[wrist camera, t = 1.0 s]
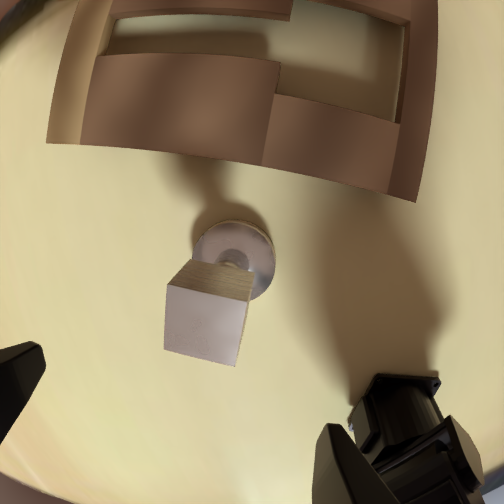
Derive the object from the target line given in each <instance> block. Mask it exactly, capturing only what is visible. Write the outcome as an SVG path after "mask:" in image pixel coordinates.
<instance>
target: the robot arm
mask: <svg viewBox="0 0 504 504" xmlns="http://www.w3.org/2000/svg"><path fill="white" fill-rule="evenodd" d="M45 369H46V362H45V358H44V354H43V350H42V347H41V345H39V344H37V343H35V342H33V341H28V342H25V343H21V344H18V345H14V346H11V347H7V348H4V349H0V445H1V443H2V441H3V440H4V438H5V436H6V435H7V433H8V432H9V430H10V429H11V427H12V425H13V424H14V422H15V421H16V419H17V418H18V416H19V415H20V413H21V412H22V410H23V409H24V407H25V406H26V404H27V402H28V401H29V399H30V397H31V395H32V393H33V391H34V390H35V388H36V386H37V384H38V382H39V380H40V379H41V377H42V375H43V373H44V372H45ZM379 379H381V380H380V381H378V380H379ZM440 385H441V381H440V379H439V378H437V377H419V376H404V375H391V374H377V375H375V376H374V377H373V379H372V381H371V383H370V385H369V387H368V389H367V391H366V393H365V395H364V396H363V397H362V398H361V400H360V401H359V403H358V405H357V407H356V409H355V411H354V413H353V414H352V416H351V421H350V423H349V425H348V427H349V430H350V431H354V436H355V442H356V444H355V443H354V442H353V440H352V439H351V438H350V436H349V435H348V433H347V432H346V431H345V429H344V428H343V427H342V425H340V424H333V423H327V424H326V425H325V426H324V428H323V430H322V432H321V434H320V436H319V438H318V440H317V443H316V450H315V462H314V473H313V483H312V504H485V502H484V500H483V498H482V495H481V493H480V490H479V488H480V487H482V486H483V485H484V476H483V470H482V464H481V458H480V454H479V452H478V450H477V448H476V447H475V445H474V443H473V441H472V439H471V437H470V436H469V434H468V433H467V432H466V431H465V430H464V429H463V428H462V427H461V426H460V424H459V423H458V422H457V421H456V420H455V419H454V418H453V417H452V416H451V415H449V416H447V417H446V418H445V419H444V418H443V416H442V414H441V412H440V410H439V407H438V405H437V403H436V401H435V399H434V395H435V393H436V392H437V390H438V388H439V387H440Z"/></svg>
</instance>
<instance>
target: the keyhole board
mask: <svg viewBox="0 0 504 504" xmlns="http://www.w3.org/2000/svg"><path fill="white" fill-rule="evenodd" d="M307 1H313V2H318V3H323V4H328V5H332V6H336V7H341V8H345V9H349V10H353V11H356V12H360V13H364V14H367V15H370V16H374V17H377V18H380V19H383V20H386V21H389V22H392V23H395V24H398V25H401V26H403V27H405V31H404V45H403V58H402V68H401V77H400V86H399V94H398V102H397V109H396V115H395V122H391V121H388V120H384V119H381V118H378V117H375V116H371V115H368V114H364V113H360V112H357V111H353V110H349V109H345V108H341V107H337V106H333V105H329V104H325V103H320V102H316V101H311V100H306V99H301V98H296V97H291V96H286V95H280V94H276V90H277V85H278V79H279V74H280V68H281V65H280V62H276V61H269V60H262V59H254V58H246V57H237V56H226V55H212V54H193V53H139V54H121V55H108V56H105V55H106V52H107V48H108V44H109V40H110V37H111V33H112V30H113V27H114V23H115V20H116V19H123V18H132V17H142V16H155V15H177V14H211V15H233V16H246V17H257V18H266V19H274V20H281V21H288V22H289V21H290V15H291V10H292V5H293V0H79V3H78V6H77V9H76V11H75V14H74V17H73V20H72V23H71V26H70V30H69V33H68V36H67V39H66V43H65V46H64V50H63V54H62V58H61V62H60V66H59V70H58V74H57V79H56V83H55V88H54V93H53V99H52V104H51V110H50V116H49V123H48V130H47V138H46V143H52V144H77V145H94V146H109V147H121V148H132V149H143V150H152V151H161V152H170V153H178V154H186V155H193V156H201V157H208V158H214V159H221V160H227V161H234V162H240V163H246V164H251V165H257V166H262V167H268V168H273V169H278V170H284V171H289V172H294V173H298V174H303V175H308V176H313V177H317V178H322V179H326V180H330V181H335V182H339V183H343V184H347V185H351V186H356V187H360V188H364V189H367V190H371V191H375V192H379V193H383V194H386V195H390V196H394V197H397V198H401V199H404V200H408V201H411V202H415V203H416V200H417V195H418V191H419V186H420V182H421V177H422V172H423V167H424V162H425V156H426V151H427V145H428V139H429V132H430V125H431V118H432V110H433V102H434V92H435V81H436V68H437V49H438V0H307Z"/></svg>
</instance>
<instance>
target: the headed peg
mask: <svg viewBox="0 0 504 504" xmlns="http://www.w3.org/2000/svg"><path fill="white" fill-rule="evenodd" d="M275 264H276V255H275V250H274V246H273V244H272V242H271V240H270V238H269V237H268V236H267V234H266V233H265V232H264V231H263V230H262V229H260V228H259V227H258V226H256V225H254V224H253V223H250V222H248V221H244V220H238V219H231V220H225V221H222V222H219V223H217V224H215V225H214V226H212V227H211V228H210V229H208V230H207V231H206V232H205V233H204V234H203V235H202V236H201V237H200V239H199V240H198V241H197V243H196V245H195V247H194V250H193V255H192V259H190V260H189V261H188V262H187V263H186V264H185V265H184V266H183V267H182V268H181V270H180V271H179V272H178V273H177V274H176V275H175V276H174V277H173V278H172V279H171V281H170V282H169V283H168V284H167V293H166V309H165V329H164V349H165V350H168V351H172V352H176V353H180V354H183V355H187V356H191V357H195V358H199V359H203V360H207V361H212V362H216V363H220V364H225V365H229V366H234V367H235V364H236V360H237V356H238V352H239V348H240V344H241V340H242V336H243V332H244V328H245V322H246V317H247V312H248V307H249V302H250V300H253V299H255V298H257V297H258V296H260V295H261V294H262V293H263V292H265V290H266V289H267V288H268V287H269V285H270V284H271V281H272V279H273V276H274V272H275Z"/></svg>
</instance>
